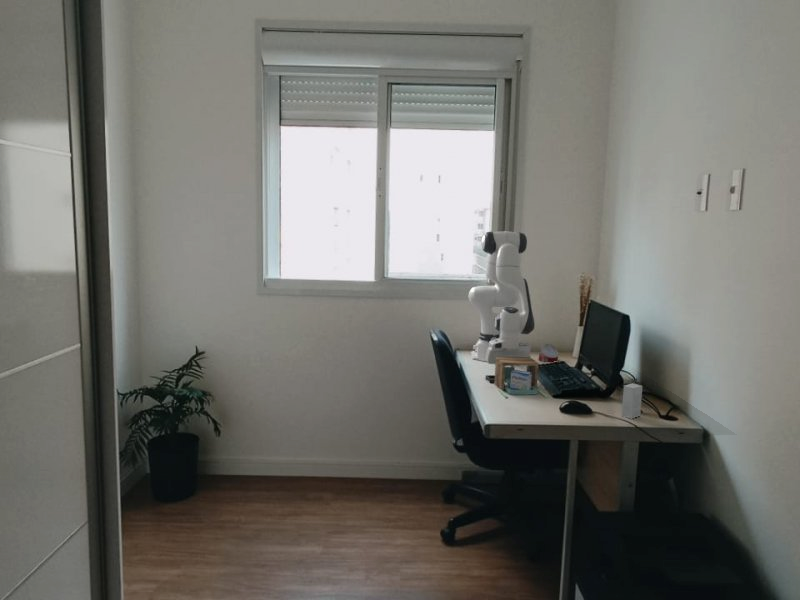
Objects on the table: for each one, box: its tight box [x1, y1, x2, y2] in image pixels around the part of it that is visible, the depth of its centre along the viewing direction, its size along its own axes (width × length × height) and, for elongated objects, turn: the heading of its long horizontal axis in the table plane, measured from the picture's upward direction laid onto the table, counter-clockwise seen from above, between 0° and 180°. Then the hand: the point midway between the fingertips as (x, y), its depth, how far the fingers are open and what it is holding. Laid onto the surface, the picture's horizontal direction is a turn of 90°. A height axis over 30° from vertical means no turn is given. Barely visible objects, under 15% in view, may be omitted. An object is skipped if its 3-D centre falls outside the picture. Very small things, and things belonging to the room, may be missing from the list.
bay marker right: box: [537, 388, 549, 399], centre depth 228 cm, size 10×1×1 cm, turn 7°
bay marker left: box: [498, 388, 509, 399], centre depth 226 cm, size 10×1×1 cm, turn 6°
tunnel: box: [493, 356, 539, 392], centre depth 236 cm, size 10×16×12 cm, turn 96°
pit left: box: [485, 374, 495, 384], centre depth 246 cm, size 7×5×2 cm
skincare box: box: [621, 383, 643, 419], centre depth 202 cm, size 6×4×12 cm
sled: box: [504, 366, 539, 395], centre depth 236 cm, size 22×12×6 cm, turn 6°
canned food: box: [538, 343, 560, 363], centre depth 287 cm, size 11×10×10 cm
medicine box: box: [510, 369, 532, 390], centre depth 229 cm, size 8×4×9 cm, turn 62°
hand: (507, 372), depth 248 cm, fingers closed, pressing on sled
